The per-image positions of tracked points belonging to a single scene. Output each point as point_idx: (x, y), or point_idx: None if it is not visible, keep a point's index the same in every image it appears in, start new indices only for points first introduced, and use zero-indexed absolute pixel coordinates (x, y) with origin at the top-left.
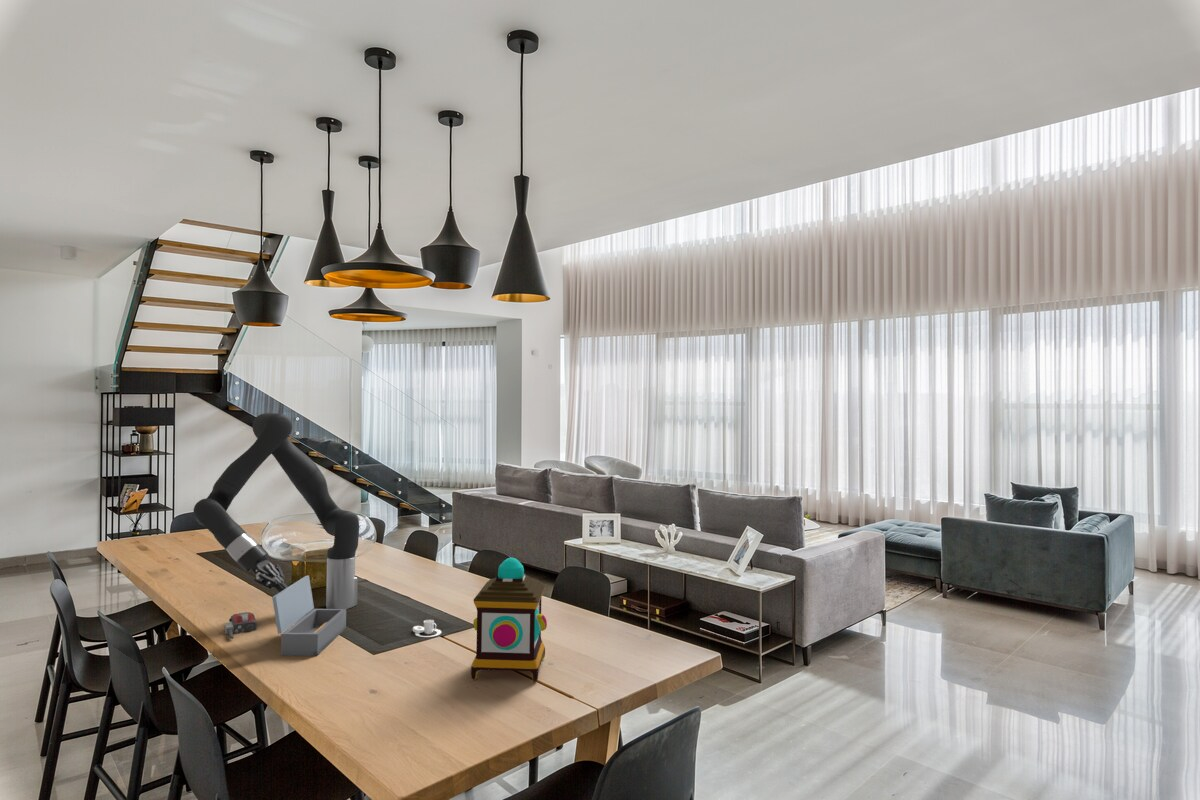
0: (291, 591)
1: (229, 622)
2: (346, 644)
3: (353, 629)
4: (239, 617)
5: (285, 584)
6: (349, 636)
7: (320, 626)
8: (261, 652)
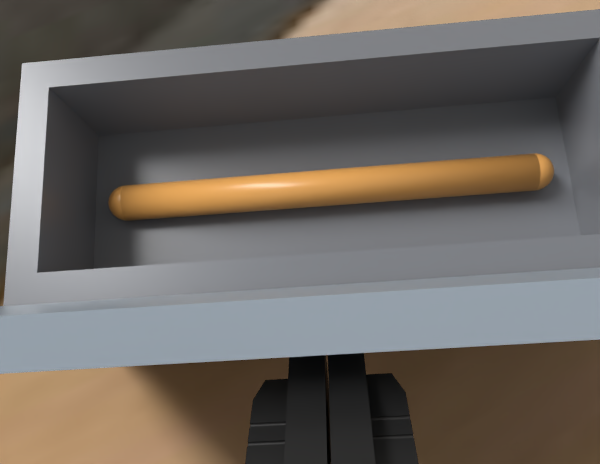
0: (416, 286)
1: None
2: (365, 13)
3: None
4: None
5: (293, 454)
6: None
7: (205, 202)
8: (574, 448)
